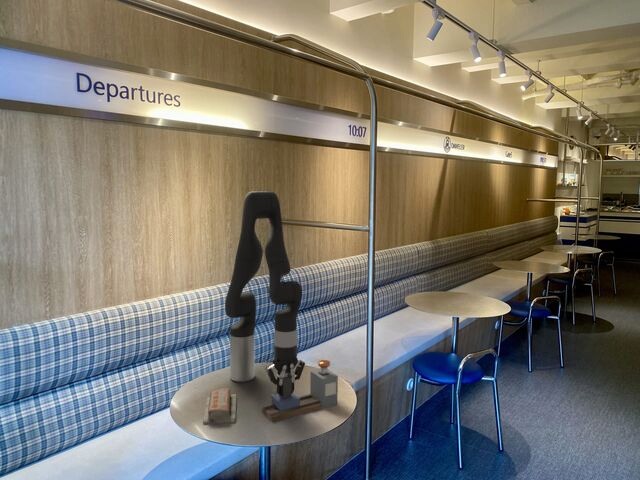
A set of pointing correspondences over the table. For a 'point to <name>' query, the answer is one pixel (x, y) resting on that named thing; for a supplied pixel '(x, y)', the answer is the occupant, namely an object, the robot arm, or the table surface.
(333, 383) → the end cabinet
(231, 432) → the table surface
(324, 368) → the orange push button
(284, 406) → the carriage
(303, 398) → the rail bed
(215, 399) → the packaged product
